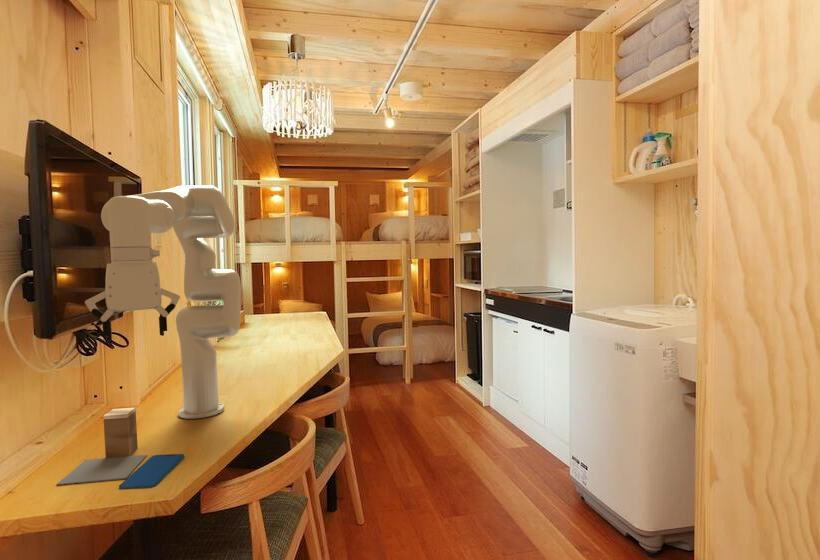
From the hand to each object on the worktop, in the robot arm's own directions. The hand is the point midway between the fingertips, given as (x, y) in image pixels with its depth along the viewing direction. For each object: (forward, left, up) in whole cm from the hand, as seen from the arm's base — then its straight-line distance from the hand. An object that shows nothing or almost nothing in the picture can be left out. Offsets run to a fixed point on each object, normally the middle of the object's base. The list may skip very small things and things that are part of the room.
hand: (136, 337), depth 103 cm
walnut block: (-12, -9, -29) cm, 32 cm away
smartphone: (+1, +2, -30) cm, 30 cm away
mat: (-3, -9, -29) cm, 30 cm away
